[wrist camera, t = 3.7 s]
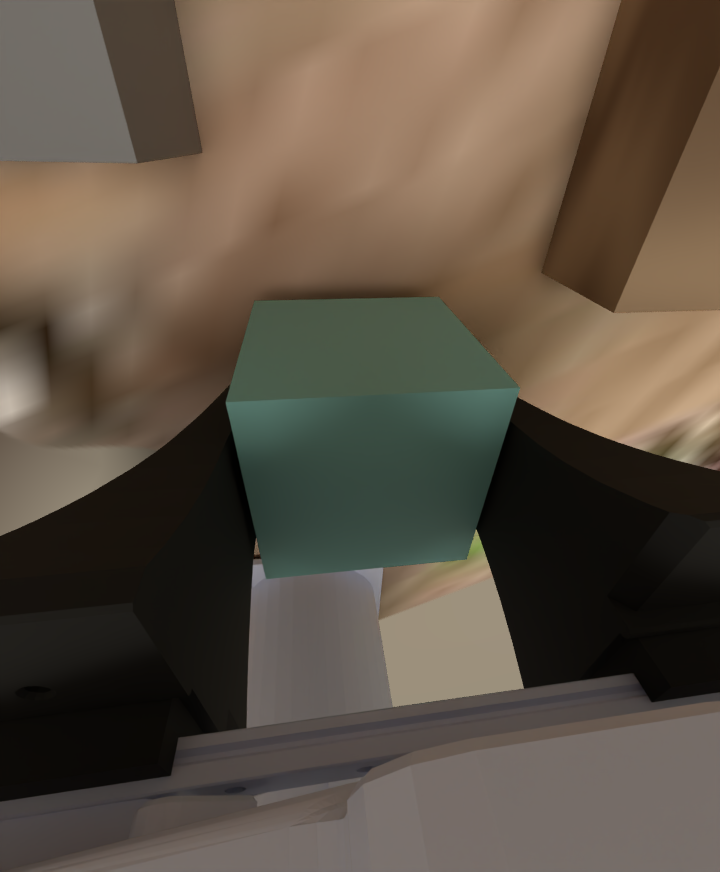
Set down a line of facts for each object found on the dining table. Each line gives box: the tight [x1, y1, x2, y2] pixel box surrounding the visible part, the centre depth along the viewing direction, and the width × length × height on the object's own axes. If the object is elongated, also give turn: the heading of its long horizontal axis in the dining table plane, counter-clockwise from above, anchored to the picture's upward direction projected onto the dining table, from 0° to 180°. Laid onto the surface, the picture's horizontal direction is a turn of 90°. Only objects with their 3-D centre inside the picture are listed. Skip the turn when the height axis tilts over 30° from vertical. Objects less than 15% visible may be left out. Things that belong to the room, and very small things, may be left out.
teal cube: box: [226, 297, 520, 579], centre depth 10 cm, size 5×5×5 cm
